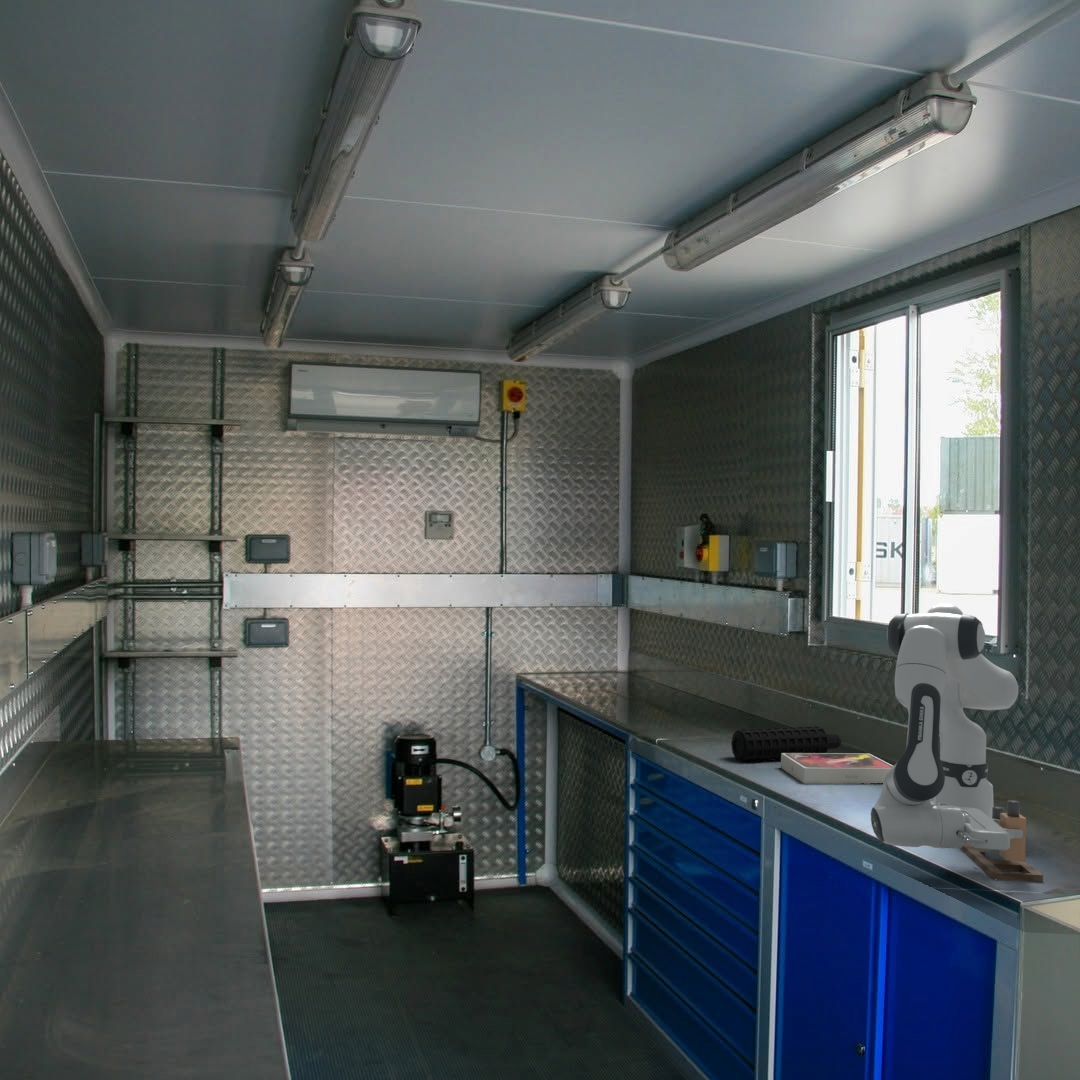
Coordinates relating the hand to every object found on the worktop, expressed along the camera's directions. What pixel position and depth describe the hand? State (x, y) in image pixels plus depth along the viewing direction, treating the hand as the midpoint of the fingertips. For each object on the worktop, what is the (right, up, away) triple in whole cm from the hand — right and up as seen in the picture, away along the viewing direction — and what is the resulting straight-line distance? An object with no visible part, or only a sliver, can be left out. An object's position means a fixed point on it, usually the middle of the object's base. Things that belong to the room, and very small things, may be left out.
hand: (1017, 829), depth 232 cm
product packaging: (-12, -10, +96) cm, 97 cm away
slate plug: (-1, -9, +9) cm, 13 cm away
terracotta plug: (-1, -6, 0) cm, 6 cm away
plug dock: (-1, -10, +9) cm, 13 cm away
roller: (-21, -9, +121) cm, 123 cm away
